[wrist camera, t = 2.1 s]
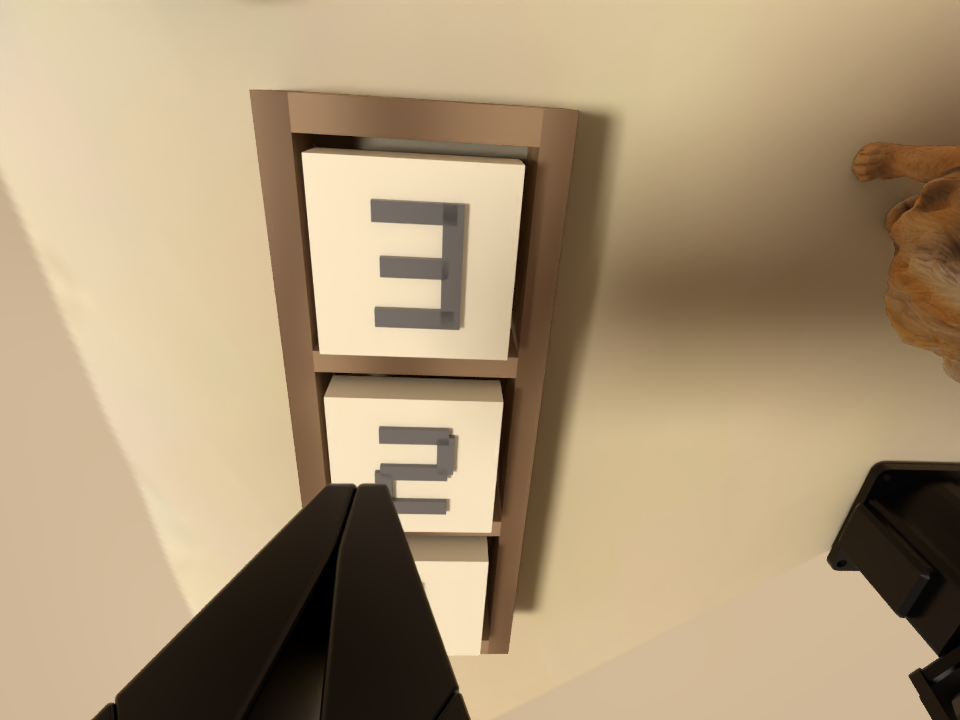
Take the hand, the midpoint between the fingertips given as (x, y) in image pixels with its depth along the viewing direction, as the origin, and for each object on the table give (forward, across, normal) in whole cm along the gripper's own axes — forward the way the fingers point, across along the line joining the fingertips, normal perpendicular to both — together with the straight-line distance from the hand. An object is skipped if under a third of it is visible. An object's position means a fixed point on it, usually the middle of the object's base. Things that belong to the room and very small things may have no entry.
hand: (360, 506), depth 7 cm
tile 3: (+11, 0, -1) cm, 11 cm away
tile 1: (+11, 0, +15) cm, 18 cm away
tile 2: (+11, 0, +7) cm, 13 cm away
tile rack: (+13, 0, +7) cm, 15 cm away
